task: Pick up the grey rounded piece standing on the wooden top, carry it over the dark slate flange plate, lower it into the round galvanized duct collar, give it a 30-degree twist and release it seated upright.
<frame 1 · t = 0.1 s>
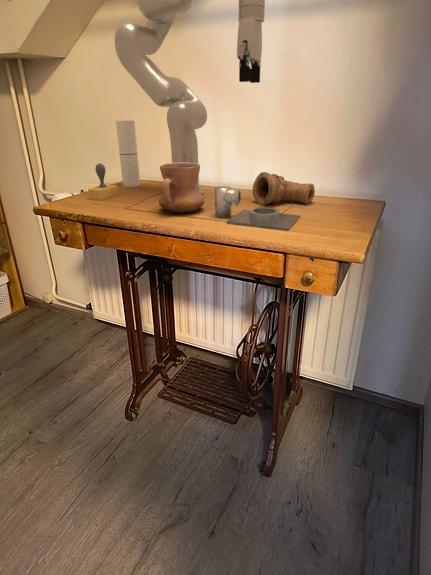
hand: (249, 82, 120), 37 cm above the table, tool pointing down, fingers open, 9 cm apart
clay pipe: (280, 204, 132), on the table
ceramic jug: (181, 211, 125), on the table
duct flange: (264, 220, 114), on the table
cylindrical container: (131, 185, 163), on the table
grey rounded piece: (223, 216, 118), on the table
rubber stamp: (104, 197, 144), on the table
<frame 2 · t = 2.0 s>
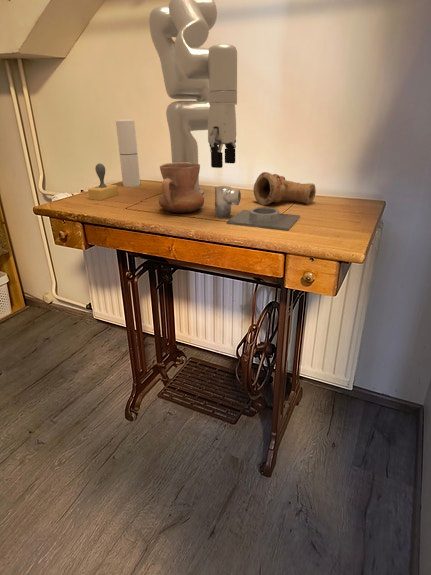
hand: (223, 165, 111), 15 cm above the table, tool pointing down, fingers open, 9 cm apart
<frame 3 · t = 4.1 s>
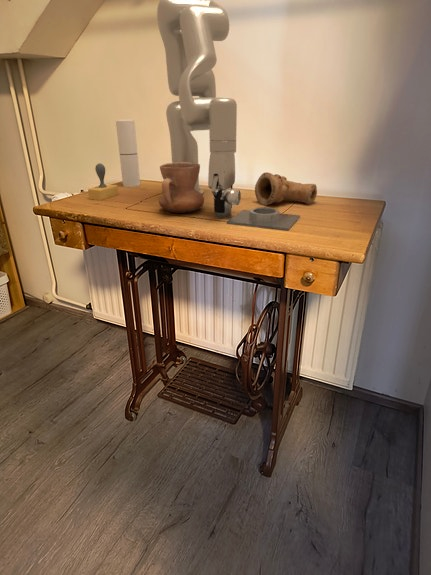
hand: (223, 209, 118), 2 cm above the table, tool pointing down, fingers closed on grey rounded piece, 4 cm apart
grey rounded piece: (223, 216, 118), on the table, touching gripper
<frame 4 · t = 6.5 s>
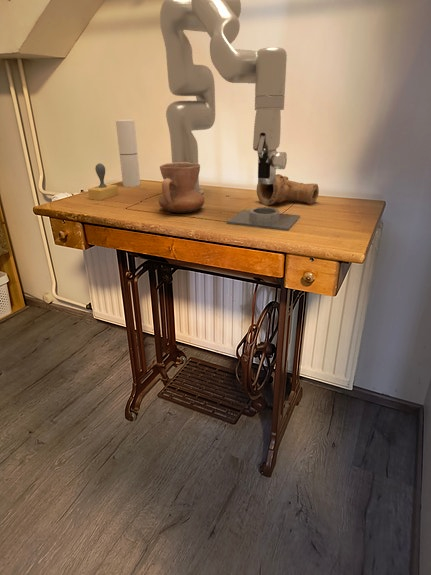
hand: (266, 175, 108), 13 cm above the table, tool pointing down, fingers closed on grey rounded piece, 4 cm apart
grey rounded piece: (266, 182, 109), point 11 cm above the table, touching gripper
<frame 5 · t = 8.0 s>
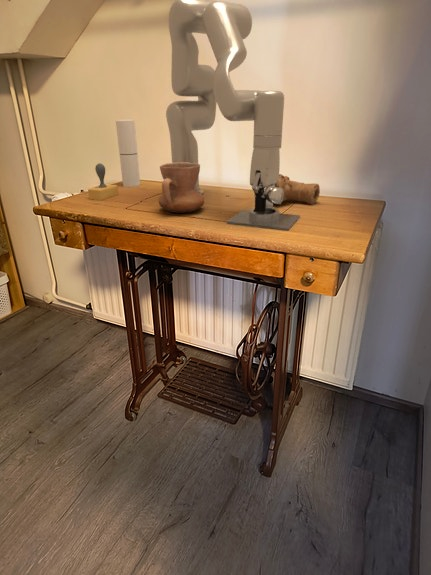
hand: (264, 208, 112), 3 cm above the table, tool pointing down, fingers closed on grey rounded piece, 4 cm apart
grey rounded piece: (264, 214, 113), point 2 cm above the table, touching gripper
when the fingers open (3 cm above the table, at t = 9.3 s): grey rounded piece stays where it is, resting on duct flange.
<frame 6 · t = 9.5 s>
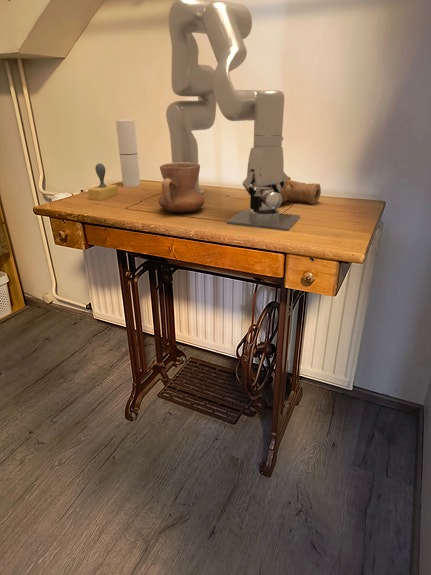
hand: (264, 207, 112), 4 cm above the table, tool pointing down, fingers open, 7 cm apart
grey rounded piece: (263, 218, 113), point 1 cm above the table, touching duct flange
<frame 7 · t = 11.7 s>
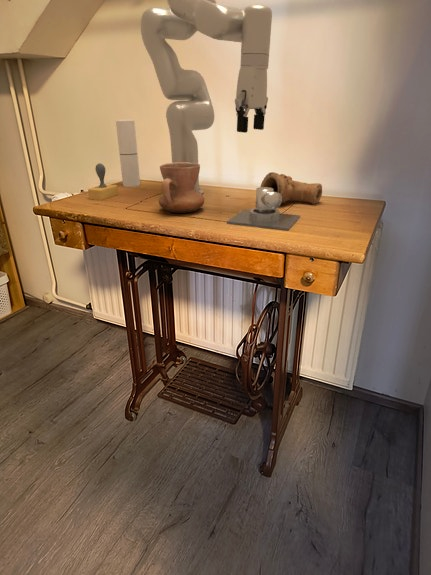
hand: (250, 130, 112), 24 cm above the table, tool pointing down, fingers open, 9 cm apart
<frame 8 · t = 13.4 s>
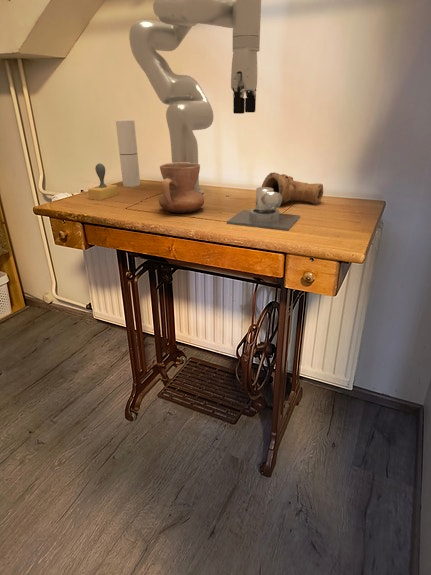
hand: (244, 112, 115), 28 cm above the table, tool pointing down, fingers open, 9 cm apart
at the end: grey rounded piece 0.2 cm off-centre on the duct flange, point 0.6 cm above the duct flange's base; grey rounded piece tilted 0°; the gripper is holding nothing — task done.
